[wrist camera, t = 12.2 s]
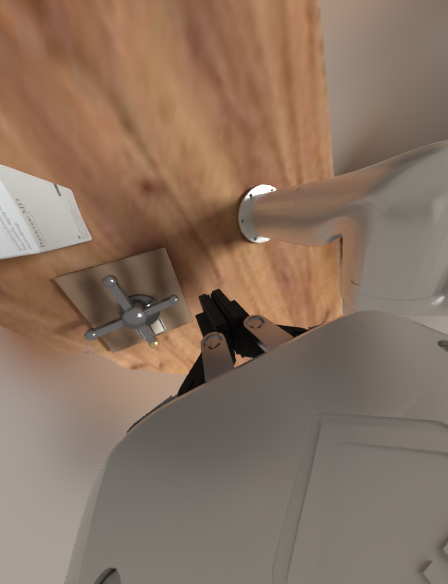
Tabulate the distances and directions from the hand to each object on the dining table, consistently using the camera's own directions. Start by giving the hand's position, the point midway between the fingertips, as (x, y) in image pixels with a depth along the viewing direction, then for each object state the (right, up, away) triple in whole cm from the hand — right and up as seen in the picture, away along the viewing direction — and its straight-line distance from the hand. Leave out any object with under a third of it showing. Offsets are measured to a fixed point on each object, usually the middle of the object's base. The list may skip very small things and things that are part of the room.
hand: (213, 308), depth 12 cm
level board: (-19, -1, +24) cm, 31 cm away
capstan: (-18, -1, +23) cm, 30 cm away
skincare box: (-26, +14, +14) cm, 33 cm away
